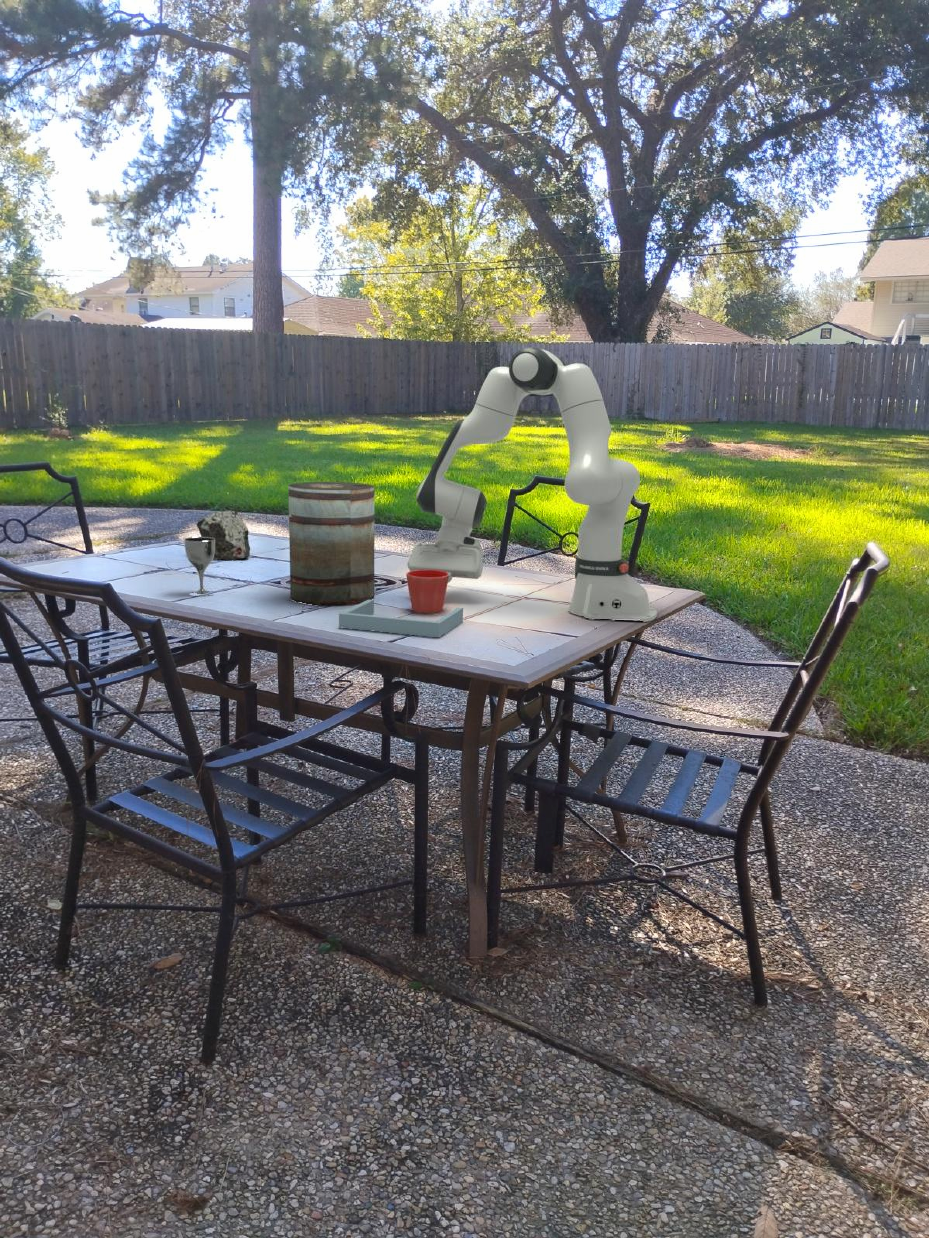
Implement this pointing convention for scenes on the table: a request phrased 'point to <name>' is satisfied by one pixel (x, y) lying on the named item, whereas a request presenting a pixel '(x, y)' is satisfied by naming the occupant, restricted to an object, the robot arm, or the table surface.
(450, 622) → the tray frame
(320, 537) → the barrel
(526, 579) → the table surface
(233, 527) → the stone
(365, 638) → the table surface
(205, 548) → the silver goblet
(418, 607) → the flower pot
